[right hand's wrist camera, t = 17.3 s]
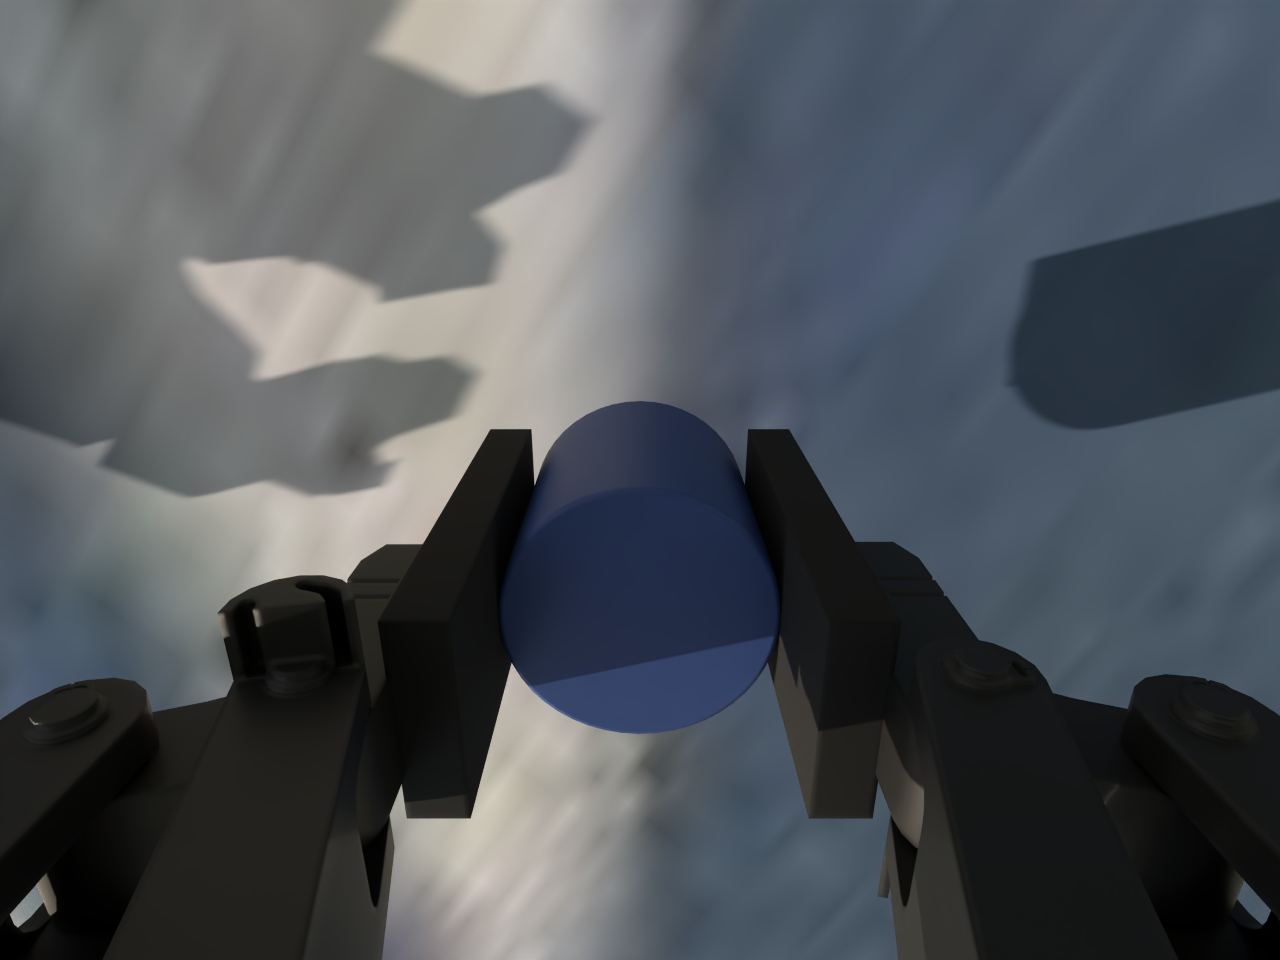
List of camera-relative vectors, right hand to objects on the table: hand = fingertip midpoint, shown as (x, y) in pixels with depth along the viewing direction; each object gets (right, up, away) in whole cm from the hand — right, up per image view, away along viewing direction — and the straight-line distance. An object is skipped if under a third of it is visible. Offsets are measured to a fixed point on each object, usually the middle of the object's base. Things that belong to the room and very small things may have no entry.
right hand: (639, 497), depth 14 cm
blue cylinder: (0, 0, 0) cm, 0 cm away
